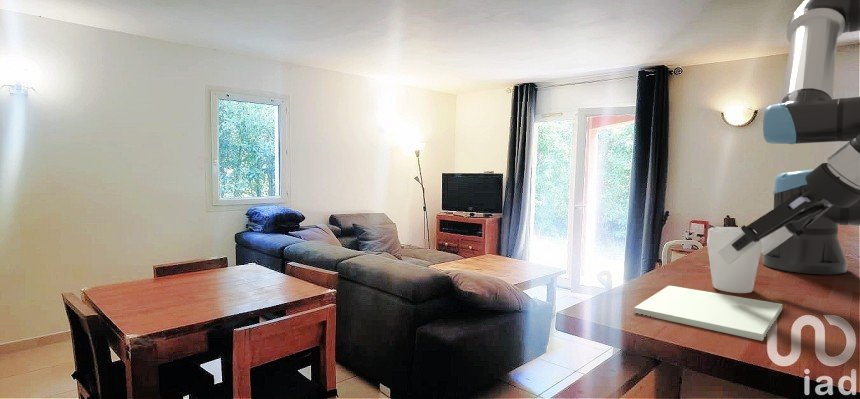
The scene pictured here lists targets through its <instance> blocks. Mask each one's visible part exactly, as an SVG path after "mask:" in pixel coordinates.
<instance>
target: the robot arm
mask: <svg viewBox="0 0 860 399" xmlns="http://www.w3.org/2000/svg"><path fill="white" fill-rule="evenodd" d="M858 31H859V32H860V0H804V1H803V2H802V3H800V5H799V6H798V7H797V8H796V9H795V11H794V12H793V14H792V15H791V17H790V19H789V20H788V24H787V29H786V38H787V41H788V42H789V43H790V44H789V50H788V57H787V62H786V69H785V75H784V81H783V86H782V92H781V99H780V102H778V103H775V104H770V105H768V106H766V108H765V109H764V113H763V120H762V133H763V134H762V135H763V140H765V142H766V143H768V144H772V145H774V144H775V145H777V144H783V145H784V144H785V145H786V144H787V145H794V144H811V143H812V144H815V143H832V142H834V143H835V142H847V143H845V144H844V145H843V146H842V147H840V148H839V149H838V150H837V151H835V152H834V153H833V154H832V155H830V156H828V158H827V162H822V163H821V164H819V165H818V166H817V167H815V168H812V169H811V168H810V169H803V170H796V171H795V170H794V171H787V172H782V173H779V174H778V175H777V176H775V180H774V189H773V192H772V194H773V209H772V210H769V211H768V212H767V213H765V214H763V215H762V216H760V217H758V218H757V219H756V220H754V221H753V222H751V223H750V224H748V225H745V224H743V225H741V227H740V228H741V229H742V231H743V233H742V234H740V235H739V236H738V237H736V238H735V239H734V240H733V241H731V242H730V243H729V244H727V245H726V246H725V247H723V248H722V249H721V250H720V251H718V252H717V253H718V254H719V255H720V256H721V257H722V258H723V259H724V260H725V261H726V263H727V264H730V263H732V262H733V261H734V260H736V259H737V258H738V257H740V256H741V255H743V254H744V253H745V252H747V251H748V250H749V249H751V248H752V247H753V246H755V245H756V244H758V243H759V242H758V241H760V239H761V242H762V249H761V254H762V264H763V265H764V266H766V267H769V268H772V269H775V270H779V271H780V270H781V271H787V272H791V273H799V274H809V275H841V274H845V273H847V270H848V261H847V259H846V258H847V257H846V256H845V253H844V250H843V247H842V244H841V243H840V240H839V236H838V235H839V232H838V231H839V226H854V227H855V226H856V227H860V96H854V97H842V98H834V85H835V75H836V62H837V60H836V59H837V52H838V51H837V50H838V39H839V38H840V37H841V36H842V34H846V33H853V32H858ZM754 230H755V231H756V232H757V233H756V232H755V231H754Z"/></svg>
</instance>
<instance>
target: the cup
mask: <svg viewBox="0 0 860 399" xmlns="http://www.w3.org/2000/svg"><path fill="white" fill-rule="evenodd" d="M754 231H755V230H754ZM755 232H756V231H755ZM742 233H743V231H742V229H741V227H739V226H738V227H737V226H715V227H708V230H707V239H706V240H707V241H706V246H707V254H708V259H709V260H708V261H709V267H710V276H711V284H712V287H713V289H717V290H718V291H721V292H726V293H731V294H748V293H752V292H753V291H754V287H755V282H756V277H757V273H758V267H759V263H760V257H761V254H762V253H761V249H762V242H761V239H760V241H758V242H759V243H758V244H756V245H755V246H753V247H752V248H751V249H749V250H748V251H747V252H745V253H744V254H743V255H741V256H740V257H738V258H737V259H736V260H734V261H733V262H732V263H730V264H727V263H726V261H725V260H724V259H723V258H722V257H721V256H720V255H719V254H718V253H717V252H718V251H720V250H721V249H722V248H723V247H725V246H726V245H727V244H729V243H730V242H731V241H733V240H734V239H735V238H736V237H738V236H739V235H740V234H742ZM756 233H757V232H756Z"/></svg>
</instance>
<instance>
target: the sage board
mask: <svg viewBox="0 0 860 399" xmlns="http://www.w3.org/2000/svg"><path fill="white" fill-rule="evenodd" d="M782 310H783V304H782V303H777V302H772V301H766V300H761V299H753V298H748V297H742V296H735V295H730V294H723V293H717V292H710V291H705V290H700V289H693V288H687V287H680V286H674V285H667V286H665V287H664V288H663V289H661V290H660V291H658V292H656V293H655V294H653V295H652V296H650V297H649V298H646V299H645V300H644V301H642V302H640V303H639V304H638V305H635V306H634V307H633V312H634V313H633V314H636V313H638V314H637V315H641V314H643V315H642V316H645V315H647V316H646V317H650V316H651V317H650V318H655V319H660V320H664V321H668V322H673V323H679V324H683V325H687V326H692V327H696V328H701V329H706V330H711V331H715V332H720V333H725V334H727V335H728V334H729V335H734V336H738V337H742V338H747V339H752V340H756V341H761V342H763V341H764V339H765V338H766V336H767V335H768V333H769V331H770V330H771V328H772V327H771V326H773V325H774V323H775V322H776V320H777V319H778V317H779V316H780V313H781V312H782ZM774 321H775V322H774ZM772 324H773V325H772ZM770 327H771V328H770ZM769 329H770V330H769ZM768 330H769V331H768ZM767 332H768V333H767ZM766 334H767V335H766ZM764 337H765V338H764Z"/></svg>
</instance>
